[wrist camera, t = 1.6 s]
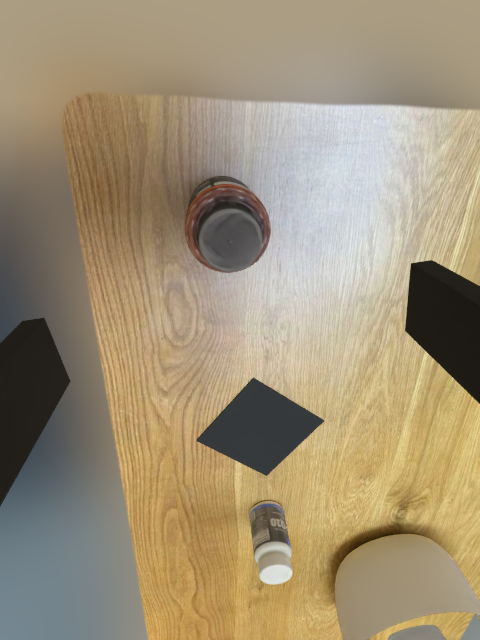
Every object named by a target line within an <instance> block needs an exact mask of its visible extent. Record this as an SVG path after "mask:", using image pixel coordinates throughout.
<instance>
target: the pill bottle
mask: <svg viewBox="0 0 480 640" xmlns="http://www.w3.org/2000/svg"><path fill="white" fill-rule="evenodd" d="M250 522H251V532H252V540H253V550H254V558H255V561H256V562H257V564H258V569H259V577H260V579H261V580H262V581H263V582H264V583H267V584H281V583H284V582H286V581H288V580H289V579H290V578H291V576H292V566H291V561H290V558H291V555H292V552H291V546H290V541H289V536H288V531H287V525H286V521H285V516H284V511H283V508H282V507H281V505H279V504H278V503H276V502H273V501H264V502H260V503H258V504H256V505H255V506H254V507H253V508H252V509H251V511H250Z"/></svg>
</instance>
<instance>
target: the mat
mask: <svg viewBox="0 0 480 640" xmlns="http://www.w3.org/2000/svg"><path fill="white" fill-rule="evenodd" d="M323 422H324V420H322V419H321V418H319V417H317V416H316V415H314V414H312V413H311V412H309V411H307V410H306V409H304V408H302V407H301V406H299V405H297V404H296V403H294V402H292V401H291V400H289V399H287V398H286V397H284V396H282V395H281V394H279V393H277V392H276V391H274V390H272V389H271V388H269V387H267V386H266V385H264V384H263V383H261V382H259V381H258V380H256V379H254V378H253V379H252V380H251V381H250V382H249V383H248V384H247V386H246V387H245V388H244V389H243V390H242V391H241V392H240V393H239V394H238V395H237V396H236V398H235V399H234V400H233V401H232V402H231V403H230V404H229V405H228V406H227V407H226V409H225V410H224V411H223V412H222V413H221V414H220V415H219V416H218V417H217V418H216V420H215V421H214V422H213V423H212V424H211V425H210V426H209V427H208V428H207V429H206V430H205V432H204V433H203V434H202V435H201V436H200V437H199V438H198V439H197V441H198V442H200V443H202V444H204V445H206V446H208V447H210V448H212V449H214V450H216V451H218V452H220V453H222V454H224V455H226V456H228V457H230V458H232V459H234V460H236V461H238V462H240V463H242V464H244V465H246V466H248V467H250V468H252V469H254V470H256V471H258V472H260V473H262V474H264V475H266V476H267V475H268V474H269V473H270V472H271V471H272V470H273V469H274V468H275V467H276V466H277V465H278V464H279V463H280V462H281V461H283V460H284V459H285V458H286V457H287V456H288V455H289V454H290V453H291V452H292V451H293V450H294V449H295V448H296V447H297V446H298V445H299V444H300V443H301V442H303V441H304V440H305V439H306V438H307V437H308V436H309V435H310V434H311V433H312V432H313V431H314V430H315V429H316V428H317V427H318V426H319V425H320V424H321V423H323Z"/></svg>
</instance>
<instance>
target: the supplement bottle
mask: <svg viewBox="0 0 480 640" xmlns="http://www.w3.org/2000/svg"><path fill="white" fill-rule="evenodd" d="M270 231H271V229H270V221H269V217H268V214H267V211H266V209H265V207H264V206H263V204H262V203H261V201H260V200H259V199H258V198H257V197H256V196H255V195H254V194H253V193H252V192H251V191H250V190H249V189H248V187H247V186H246V185H244V184H243V183H242V182H240V181H239V180H237V179H234V178H231V177H226V176H219V177H213V178H210V179H208V180H206V181H204V182H203V183H202V184H200V185H199V186H198V188H197V189H196V190H195V191H194V193H193V195H192V197H191V199H190V202H189V206H188V210H187V215H186V220H185V236H186V241H187V244H188V247H189V249H190V251H191V252H192V254H193V255H194V257H195V258H196V259H197V260H198V261H199V262H200V263H202V264H203V265H204V266H206V267H208V268H210V269H212V270H215V271H219V272H226V273H231V272H237V271H241V270H244V269H246V268H248V267H250V266H251V265H253V264H254V263H255V262H257V261H258V260H259V258H260V257H261V256H262V255H263V253H264V251H265V249H266V248H267V245H268V242H269V239H270Z"/></svg>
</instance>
